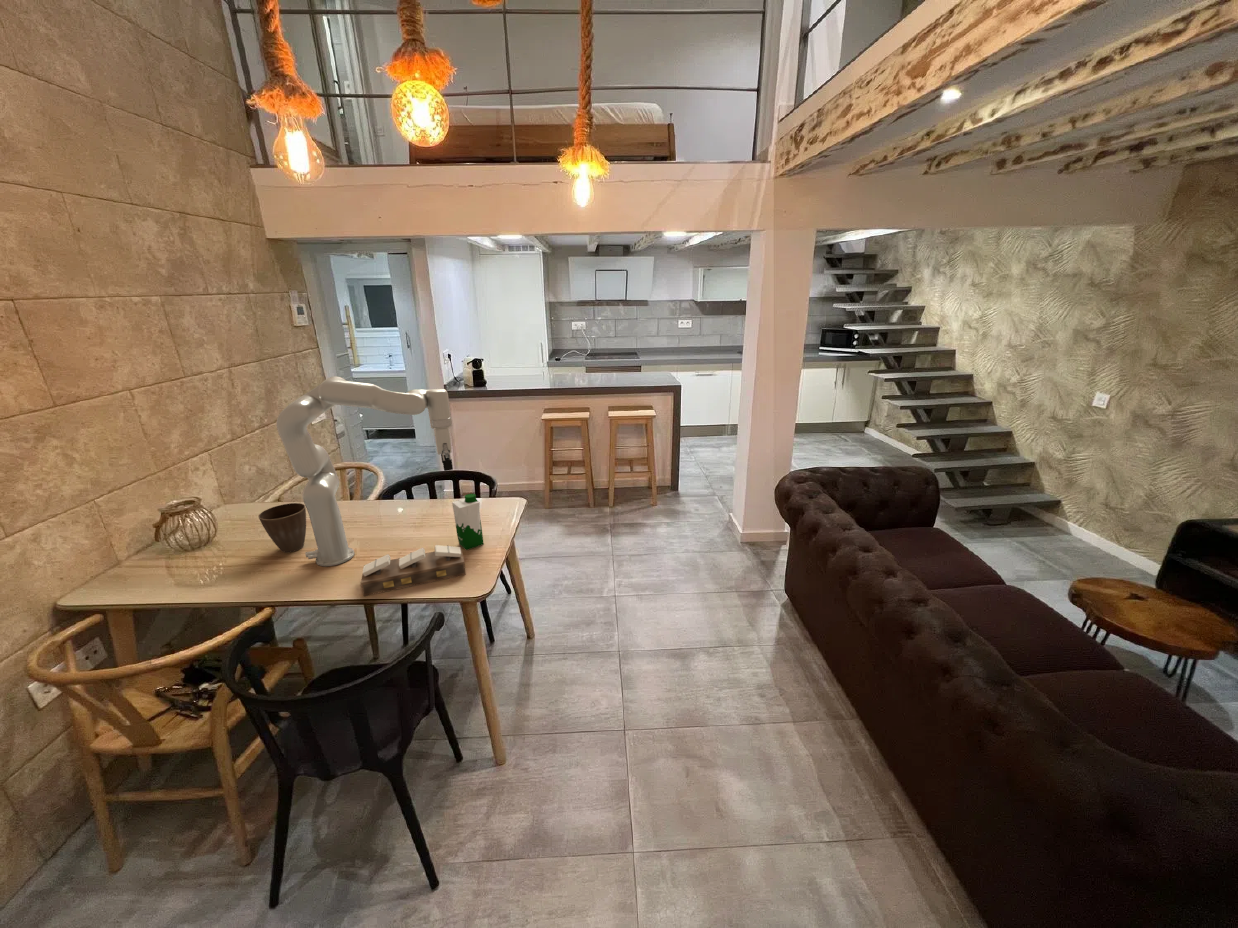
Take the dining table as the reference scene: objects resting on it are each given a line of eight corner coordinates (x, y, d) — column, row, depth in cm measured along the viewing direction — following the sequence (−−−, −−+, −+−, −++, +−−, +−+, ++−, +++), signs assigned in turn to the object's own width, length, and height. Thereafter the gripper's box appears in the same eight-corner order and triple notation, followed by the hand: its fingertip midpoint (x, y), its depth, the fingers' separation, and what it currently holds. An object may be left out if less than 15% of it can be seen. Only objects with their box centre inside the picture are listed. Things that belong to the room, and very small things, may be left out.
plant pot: (292, 559, 180) (282, 520, 175) (259, 556, 183) (248, 517, 178) (323, 540, 194) (314, 504, 189) (292, 537, 197) (282, 501, 192)
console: (363, 596, 156) (359, 580, 154) (366, 577, 167) (363, 562, 165) (466, 574, 167) (463, 559, 165) (462, 558, 178) (460, 543, 176)
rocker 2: (401, 569, 162) (398, 565, 161) (401, 561, 166) (399, 558, 166) (425, 557, 164) (422, 553, 163) (424, 550, 168) (422, 546, 168)
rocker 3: (435, 555, 165) (436, 551, 164) (434, 548, 169) (435, 544, 169) (460, 557, 168) (461, 553, 168) (459, 550, 173) (460, 546, 173)
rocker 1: (364, 576, 158) (362, 572, 157) (366, 568, 162) (363, 565, 162) (389, 564, 160) (387, 560, 159) (390, 557, 164) (388, 553, 164)
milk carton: (486, 544, 188) (481, 497, 181) (464, 552, 182) (457, 503, 176) (477, 536, 194) (471, 490, 188) (455, 544, 189) (448, 496, 182)
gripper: (429, 418, 185) (435, 461, 190) (431, 429, 170) (438, 474, 175) (449, 416, 187) (455, 458, 193) (453, 426, 172) (460, 471, 178)
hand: (447, 466), depth 184 cm, fingers open, 9 cm apart
